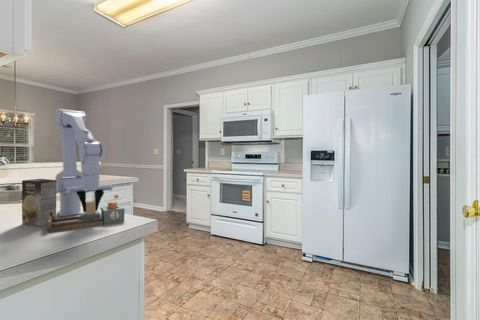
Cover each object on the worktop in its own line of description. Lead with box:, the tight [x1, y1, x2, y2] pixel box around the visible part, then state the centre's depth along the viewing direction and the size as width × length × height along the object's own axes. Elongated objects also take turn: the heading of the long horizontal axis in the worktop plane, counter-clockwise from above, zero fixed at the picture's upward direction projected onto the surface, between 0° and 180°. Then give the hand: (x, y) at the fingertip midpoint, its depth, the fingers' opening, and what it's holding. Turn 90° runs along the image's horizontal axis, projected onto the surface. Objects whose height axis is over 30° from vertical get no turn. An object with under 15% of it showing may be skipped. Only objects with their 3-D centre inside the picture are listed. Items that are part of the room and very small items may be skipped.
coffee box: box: [21, 178, 57, 228], centre depth 91 cm, size 9×6×16 cm
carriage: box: [79, 200, 101, 220], centre depth 92 cm, size 5×6×6 cm
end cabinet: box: [100, 204, 125, 225], centre depth 97 cm, size 8×7×5 cm
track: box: [47, 215, 104, 233], centre depth 90 cm, size 9×16×4 cm, turn 127°
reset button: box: [107, 201, 118, 209], centre depth 97 cm, size 3×3×4 cm
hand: (90, 210), depth 92 cm, fingers closed on carriage, 3 cm apart
